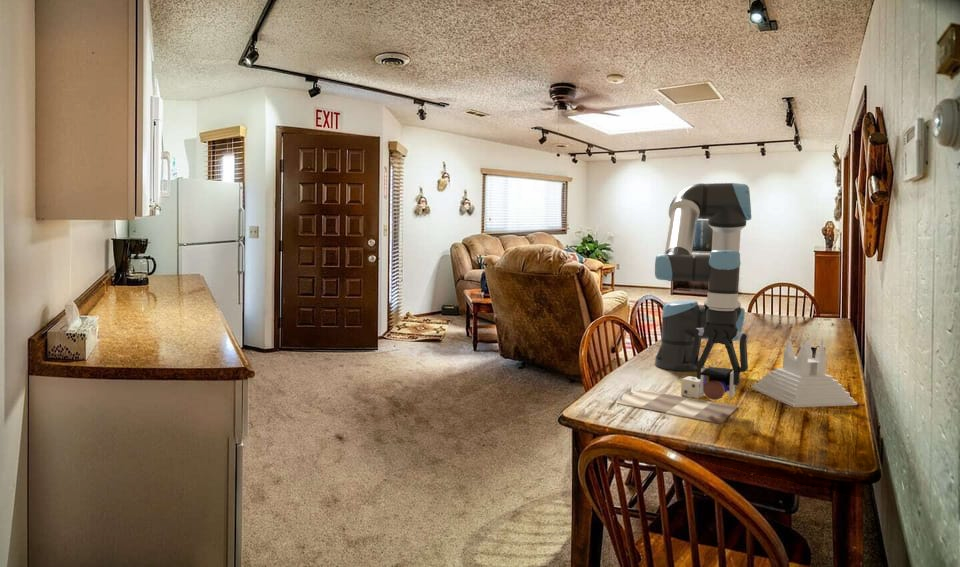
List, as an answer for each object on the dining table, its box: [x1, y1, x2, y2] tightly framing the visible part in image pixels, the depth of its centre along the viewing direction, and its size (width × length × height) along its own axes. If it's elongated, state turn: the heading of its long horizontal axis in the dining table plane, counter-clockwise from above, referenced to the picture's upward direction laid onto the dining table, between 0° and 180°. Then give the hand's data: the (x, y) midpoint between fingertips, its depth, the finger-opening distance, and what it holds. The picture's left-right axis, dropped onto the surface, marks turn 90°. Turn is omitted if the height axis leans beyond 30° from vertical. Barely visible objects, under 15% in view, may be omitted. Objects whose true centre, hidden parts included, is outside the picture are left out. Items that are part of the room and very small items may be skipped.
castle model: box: [750, 334, 858, 408], centre depth 184 cm, size 20×20×18 cm
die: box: [680, 375, 705, 399], centre depth 183 cm, size 5×5×5 cm
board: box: [616, 389, 739, 425], centre depth 172 cm, size 18×28×1 cm, turn 54°
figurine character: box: [701, 366, 733, 401], centre depth 165 cm, size 7×8×15 cm
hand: (717, 393), depth 166 cm, fingers closed on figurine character, 7 cm apart
